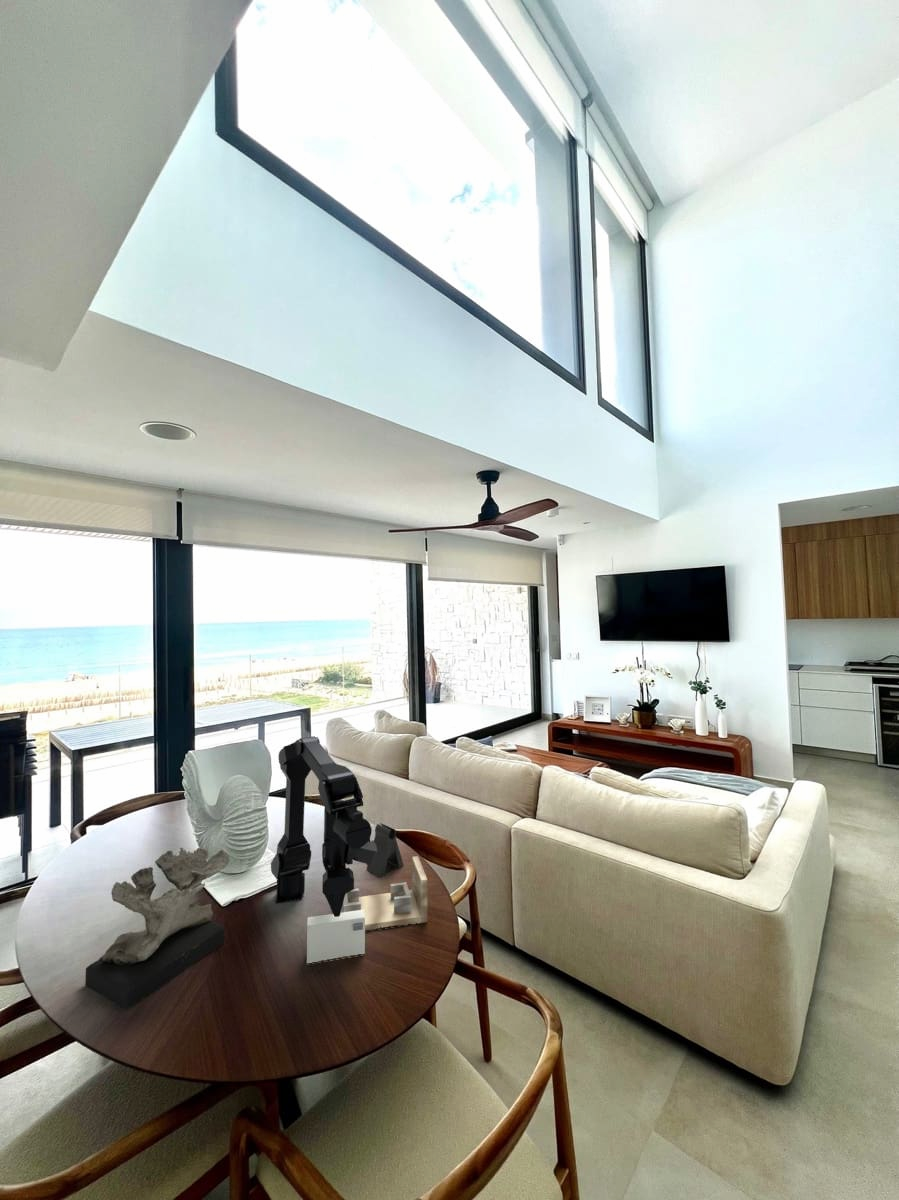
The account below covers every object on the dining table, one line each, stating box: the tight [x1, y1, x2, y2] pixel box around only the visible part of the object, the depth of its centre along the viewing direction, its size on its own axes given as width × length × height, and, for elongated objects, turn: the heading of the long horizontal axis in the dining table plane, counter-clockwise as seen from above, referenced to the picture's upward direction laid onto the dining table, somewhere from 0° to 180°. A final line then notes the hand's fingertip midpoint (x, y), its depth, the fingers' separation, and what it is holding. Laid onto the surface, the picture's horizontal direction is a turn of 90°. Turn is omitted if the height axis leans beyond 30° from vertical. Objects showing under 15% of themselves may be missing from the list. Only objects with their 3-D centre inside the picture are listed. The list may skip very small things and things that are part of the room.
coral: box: [84, 847, 230, 1010], centre depth 105 cm, size 25×20×22 cm
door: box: [306, 910, 366, 964], centre depth 107 cm, size 12×4×8 cm, turn 105°
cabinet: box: [341, 855, 428, 931], centre depth 123 cm, size 22×12×10 cm, turn 105°
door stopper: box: [366, 823, 405, 878], centre depth 145 cm, size 9×6×12 cm, turn 137°
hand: (336, 903), depth 108 cm, fingers open, 9 cm apart
